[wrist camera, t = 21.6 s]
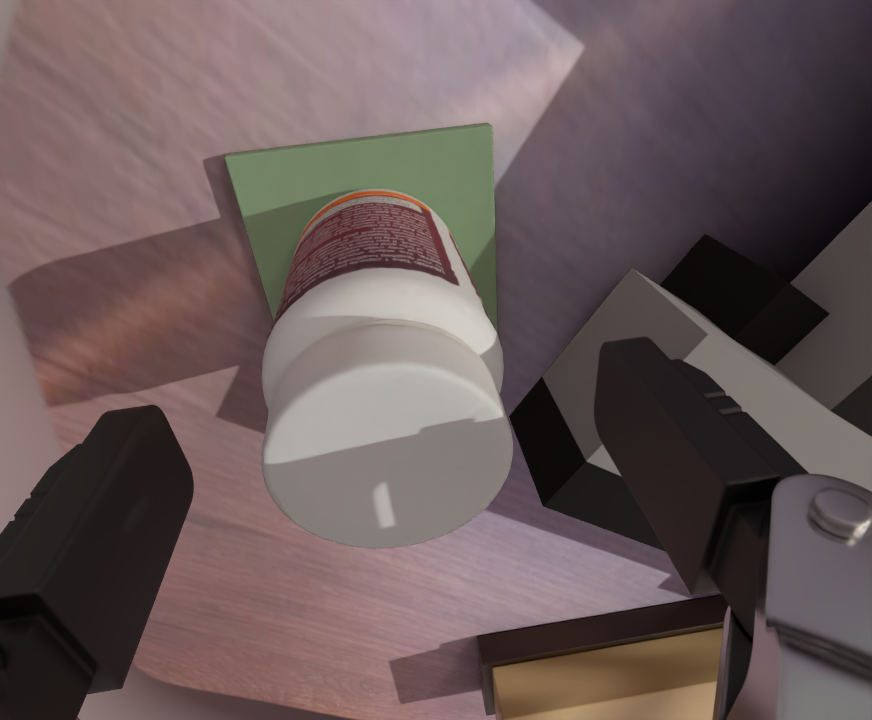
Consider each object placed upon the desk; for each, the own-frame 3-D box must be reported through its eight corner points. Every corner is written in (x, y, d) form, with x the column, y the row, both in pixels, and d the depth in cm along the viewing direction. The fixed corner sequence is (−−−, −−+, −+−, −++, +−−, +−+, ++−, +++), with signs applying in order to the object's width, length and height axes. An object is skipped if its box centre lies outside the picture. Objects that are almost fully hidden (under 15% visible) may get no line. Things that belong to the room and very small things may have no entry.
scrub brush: (481, 688, 31) (495, 768, 27) (476, 635, 28) (492, 718, 24) (824, 628, 32) (878, 698, 29) (859, 571, 29) (925, 641, 25)
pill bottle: (262, 274, 15) (168, 492, 8) (368, 146, 13) (373, 271, 6) (385, 363, 17) (400, 596, 10) (489, 261, 15) (595, 451, 8)
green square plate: (292, 370, 17) (290, 379, 17) (227, 153, 13) (222, 156, 13) (495, 342, 18) (498, 350, 17) (488, 122, 14) (492, 125, 13)
